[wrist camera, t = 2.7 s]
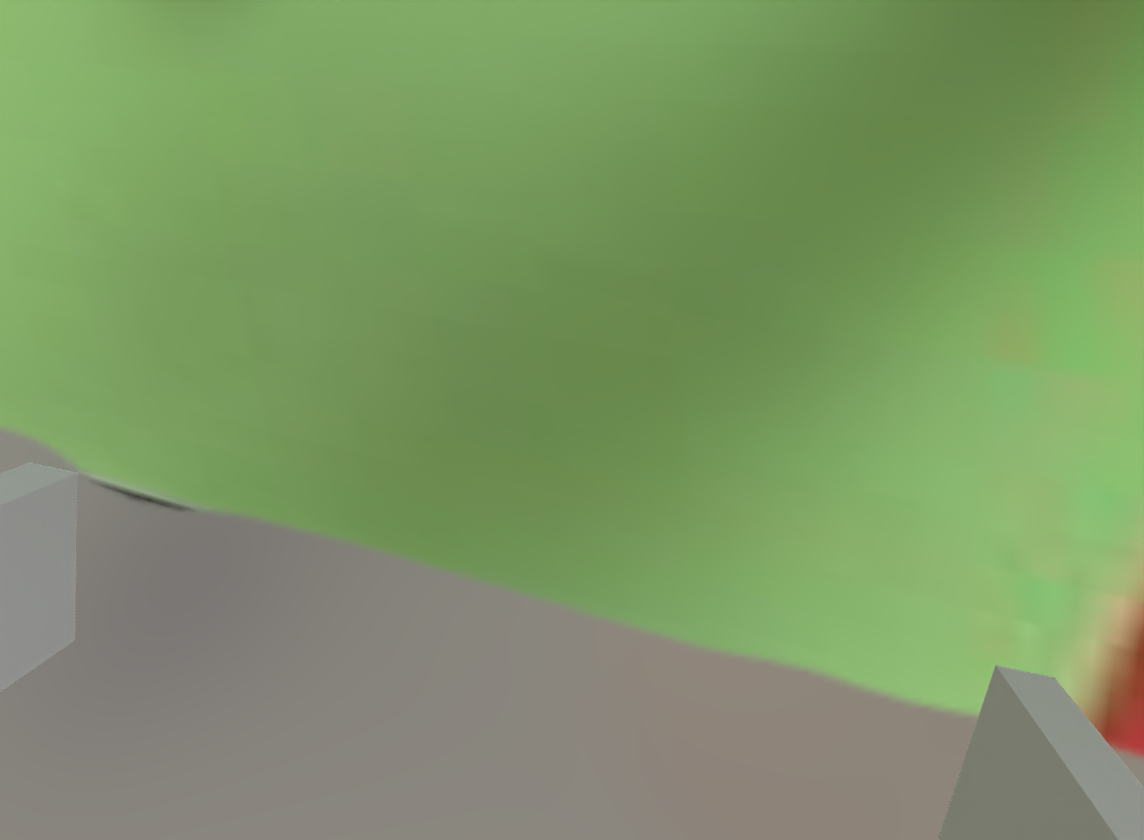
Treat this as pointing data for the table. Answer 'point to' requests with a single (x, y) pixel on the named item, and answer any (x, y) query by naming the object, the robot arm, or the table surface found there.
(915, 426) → the table surface
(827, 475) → the table surface
